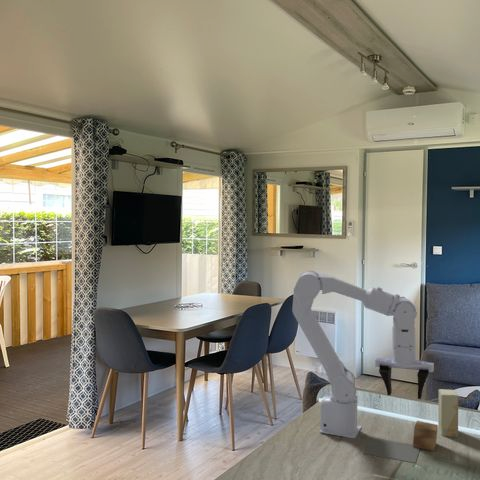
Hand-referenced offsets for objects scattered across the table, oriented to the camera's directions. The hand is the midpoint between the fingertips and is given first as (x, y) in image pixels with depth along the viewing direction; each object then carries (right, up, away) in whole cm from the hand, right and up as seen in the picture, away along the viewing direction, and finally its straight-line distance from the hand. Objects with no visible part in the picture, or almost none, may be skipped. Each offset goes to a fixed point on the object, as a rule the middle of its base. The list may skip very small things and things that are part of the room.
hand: (404, 395), depth 142 cm
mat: (-6, -11, -9) cm, 15 cm away
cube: (+3, -11, -6) cm, 13 cm away
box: (+12, -11, +2) cm, 16 cm away
